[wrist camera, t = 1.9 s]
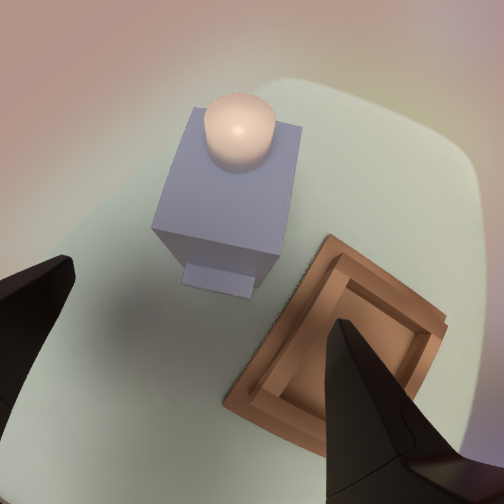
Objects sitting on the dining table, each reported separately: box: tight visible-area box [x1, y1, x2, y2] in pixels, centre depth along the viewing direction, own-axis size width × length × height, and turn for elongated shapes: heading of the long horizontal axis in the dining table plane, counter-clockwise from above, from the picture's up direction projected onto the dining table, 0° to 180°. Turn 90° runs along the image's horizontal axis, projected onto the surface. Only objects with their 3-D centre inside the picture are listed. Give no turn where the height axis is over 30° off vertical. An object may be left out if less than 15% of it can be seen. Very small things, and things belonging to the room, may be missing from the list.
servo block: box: [151, 93, 302, 299], centre depth 16 cm, size 8×5×12 cm, turn 168°
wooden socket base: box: [222, 234, 448, 458], centre depth 19 cm, size 14×12×3 cm
